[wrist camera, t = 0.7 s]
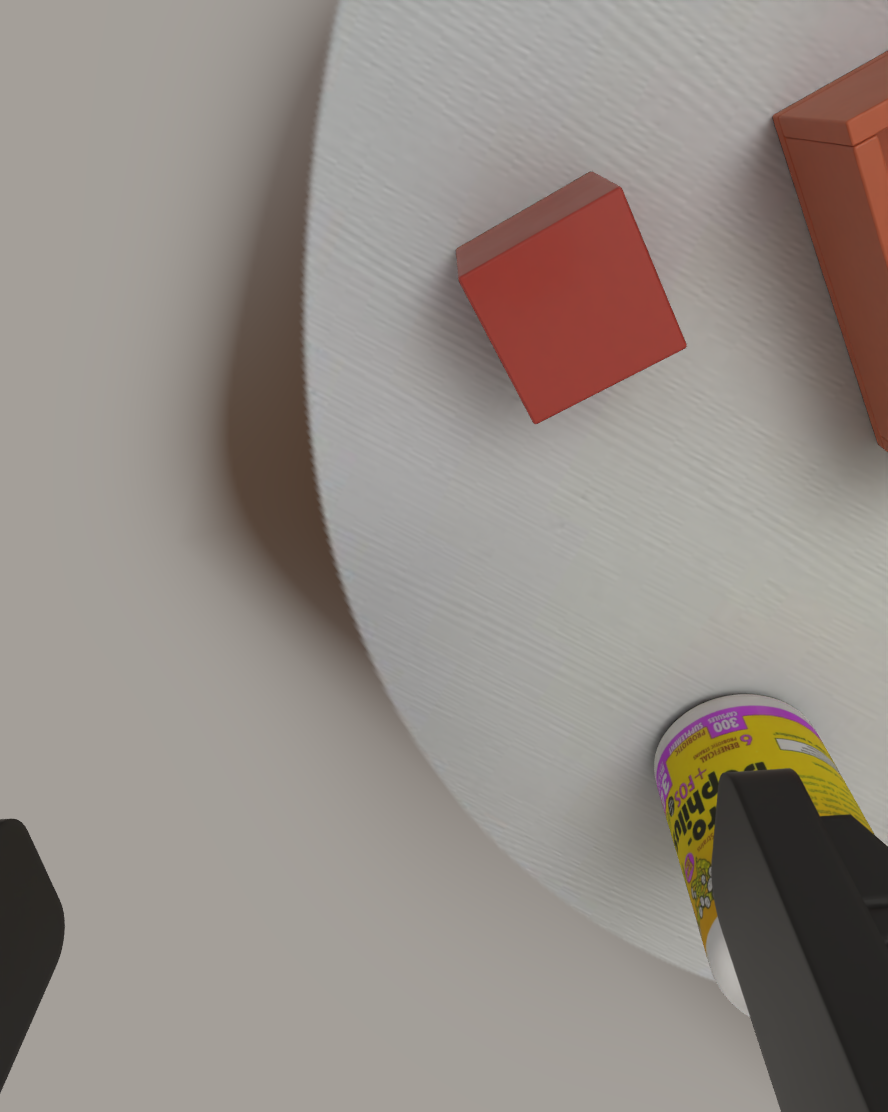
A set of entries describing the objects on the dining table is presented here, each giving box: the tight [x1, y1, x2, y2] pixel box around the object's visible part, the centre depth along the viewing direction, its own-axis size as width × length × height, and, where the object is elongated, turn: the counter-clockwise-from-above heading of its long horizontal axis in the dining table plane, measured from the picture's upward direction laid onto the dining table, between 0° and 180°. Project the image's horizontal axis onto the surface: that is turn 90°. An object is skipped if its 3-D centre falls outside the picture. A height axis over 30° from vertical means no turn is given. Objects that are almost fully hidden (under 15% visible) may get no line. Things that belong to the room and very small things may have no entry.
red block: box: [456, 172, 686, 424], centre depth 24 cm, size 4×4×4 cm
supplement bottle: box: [654, 694, 874, 1017], centre depth 29 cm, size 7×7×13 cm
